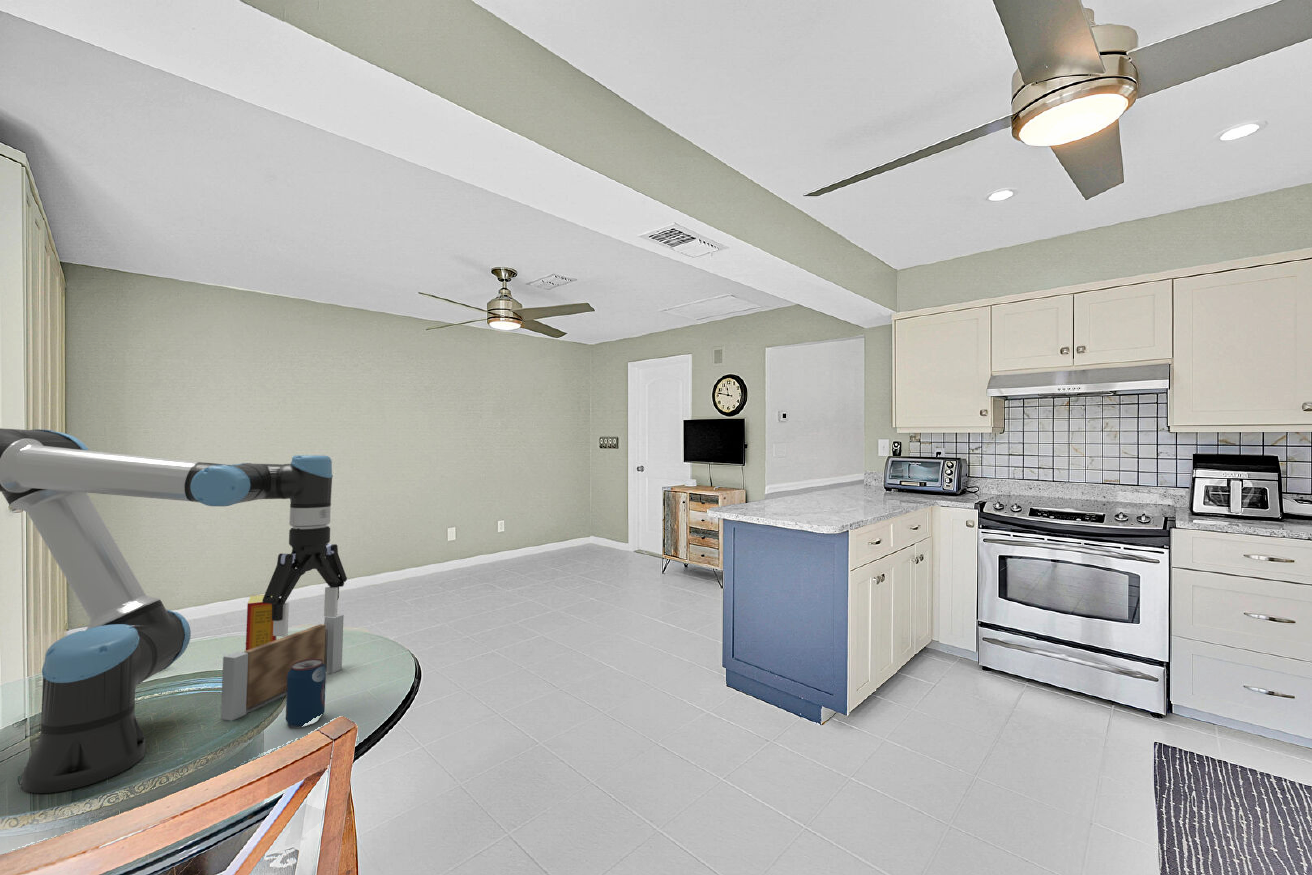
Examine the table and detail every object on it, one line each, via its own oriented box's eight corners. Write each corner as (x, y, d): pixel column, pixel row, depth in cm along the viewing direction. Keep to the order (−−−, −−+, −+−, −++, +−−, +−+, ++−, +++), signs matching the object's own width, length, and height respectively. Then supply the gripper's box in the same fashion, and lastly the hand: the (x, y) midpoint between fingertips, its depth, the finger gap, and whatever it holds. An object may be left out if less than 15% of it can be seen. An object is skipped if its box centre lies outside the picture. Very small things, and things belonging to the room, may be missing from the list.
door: (247, 708, 119) (250, 652, 119) (236, 706, 120) (239, 650, 120) (328, 670, 140) (330, 623, 140) (318, 669, 140) (320, 622, 141)
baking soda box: (248, 651, 154) (250, 594, 154) (276, 647, 157) (278, 591, 158) (245, 663, 146) (247, 602, 146) (274, 658, 149) (277, 599, 150)
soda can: (331, 718, 116) (333, 661, 117) (296, 732, 110) (298, 672, 111) (313, 710, 120) (315, 655, 120) (278, 723, 114) (280, 665, 114)
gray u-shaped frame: (231, 720, 115) (234, 653, 115) (220, 718, 115) (223, 651, 116) (341, 668, 143) (343, 614, 143) (332, 667, 144) (334, 613, 144)
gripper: (276, 535, 106) (272, 646, 105) (365, 520, 130) (362, 610, 130) (243, 533, 107) (238, 643, 106) (337, 519, 132) (334, 608, 131)
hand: (306, 625), depth 118 cm, fingers open, 13 cm apart
